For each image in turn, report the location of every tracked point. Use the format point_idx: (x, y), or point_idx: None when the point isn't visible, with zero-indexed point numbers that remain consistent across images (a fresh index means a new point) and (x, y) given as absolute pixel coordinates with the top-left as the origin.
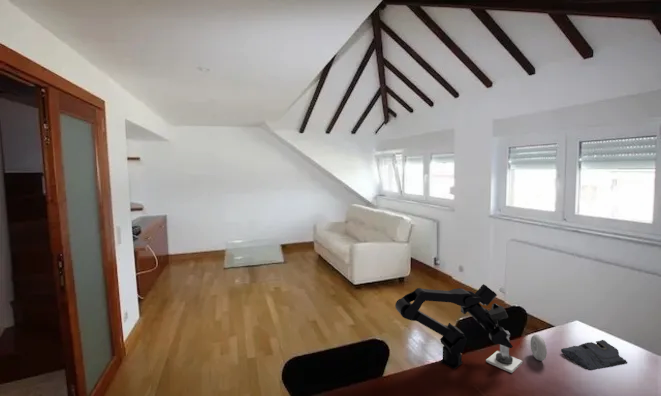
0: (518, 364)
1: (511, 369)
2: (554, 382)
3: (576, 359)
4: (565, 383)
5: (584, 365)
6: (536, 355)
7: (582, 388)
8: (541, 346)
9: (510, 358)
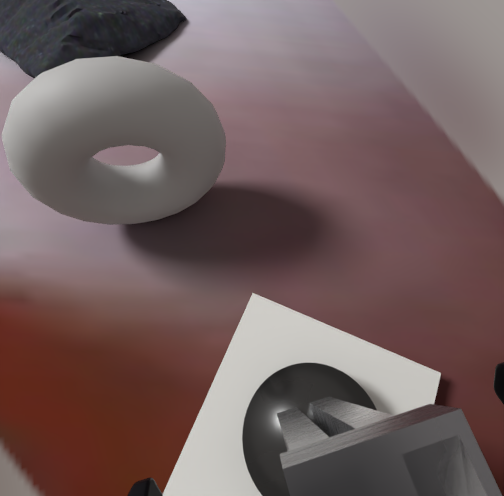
0: (318, 321)
1: (422, 375)
2: (384, 150)
3: (130, 34)
4: (363, 109)
5: (167, 21)
6: (196, 192)
7: (365, 58)
8: (201, 104)
9: (316, 380)
